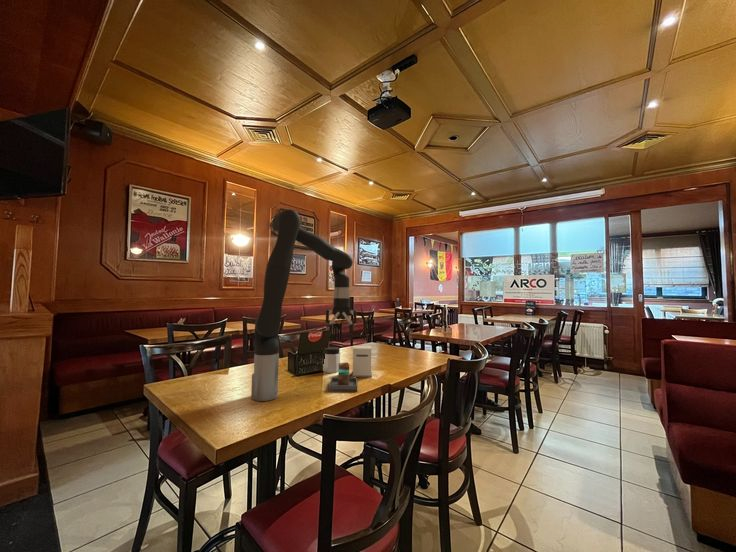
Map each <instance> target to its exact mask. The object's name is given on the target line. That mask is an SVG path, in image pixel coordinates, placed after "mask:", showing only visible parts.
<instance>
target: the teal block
mask: <svg viewBox="0 0 736 552" xmlns="http://www.w3.org/2000/svg"><path fill="white" fill-rule="evenodd" d="M337 374H338V375H337V376H338V377H337V378H338V385H349V378H350V369H349V370H339V371H338V372H337Z"/></svg>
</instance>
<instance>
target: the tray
mask: <svg viewBox="0 0 736 552" xmlns="http://www.w3.org/2000/svg"><path fill="white" fill-rule="evenodd" d="M358 385H359V384H358V378H352V377H349V385H338V377H331V378H330V381H329V384H328V392H329V393H330V392H332V393H335V392H336V393H341V392H342V393H346V392H347V393H349V392H350V393H351V392H352V393H357V392H358Z"/></svg>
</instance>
